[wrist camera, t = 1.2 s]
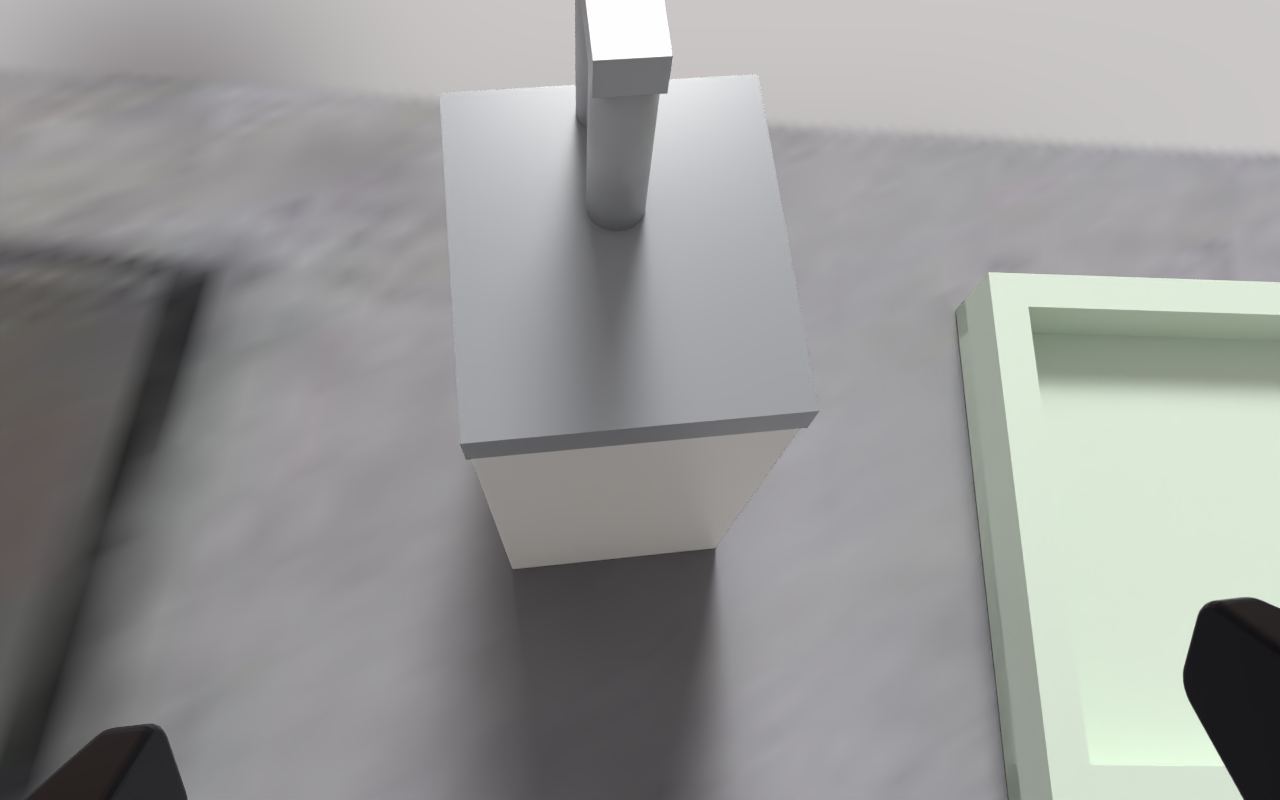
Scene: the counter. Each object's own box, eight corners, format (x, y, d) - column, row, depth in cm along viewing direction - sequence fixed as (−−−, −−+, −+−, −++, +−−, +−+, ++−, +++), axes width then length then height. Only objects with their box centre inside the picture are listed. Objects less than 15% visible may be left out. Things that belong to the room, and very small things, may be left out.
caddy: (718, 549, 21) (906, 289, 9) (510, 571, 21) (415, 331, 9) (687, 334, 23) (812, -131, 11) (494, 350, 23) (395, -116, 10)
